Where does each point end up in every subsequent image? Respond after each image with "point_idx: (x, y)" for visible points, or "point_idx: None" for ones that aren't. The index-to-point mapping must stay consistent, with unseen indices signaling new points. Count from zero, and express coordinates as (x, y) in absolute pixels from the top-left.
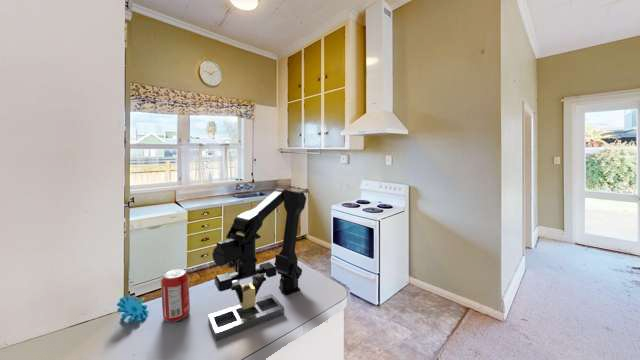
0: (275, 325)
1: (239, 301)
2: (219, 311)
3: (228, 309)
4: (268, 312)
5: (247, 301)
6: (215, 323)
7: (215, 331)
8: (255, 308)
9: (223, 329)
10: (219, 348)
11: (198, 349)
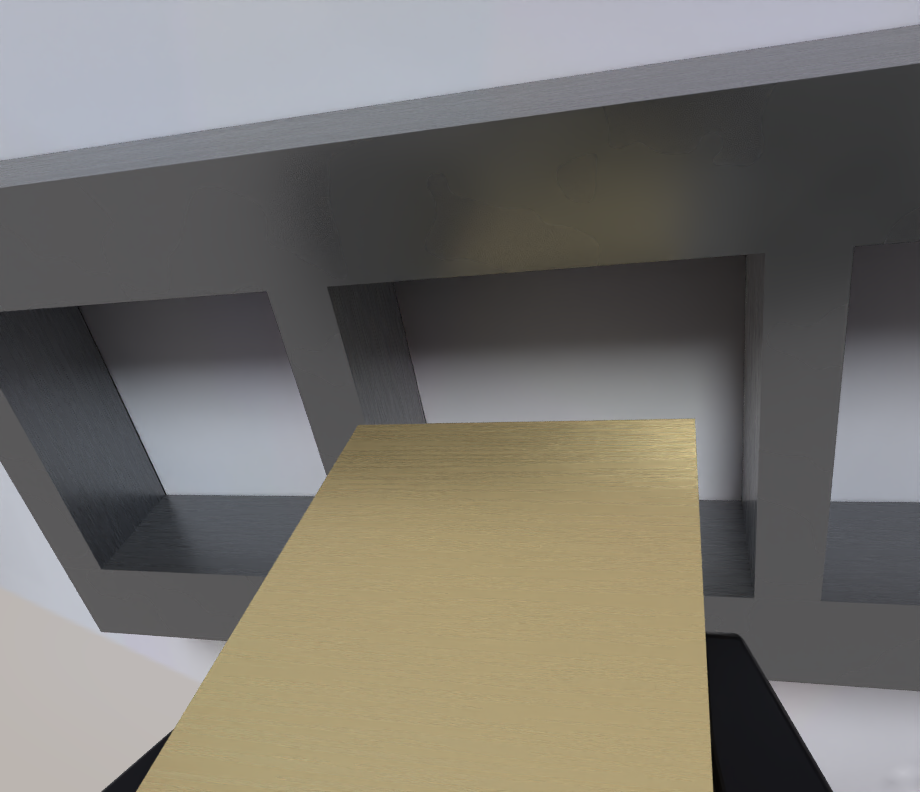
0: (897, 693)
1: (338, 478)
2: (21, 198)
3: (187, 217)
4: (914, 673)
5: None
6: (47, 480)
7: (89, 608)
8: (756, 405)
9: (178, 625)
10: (210, 642)
11: (23, 560)
